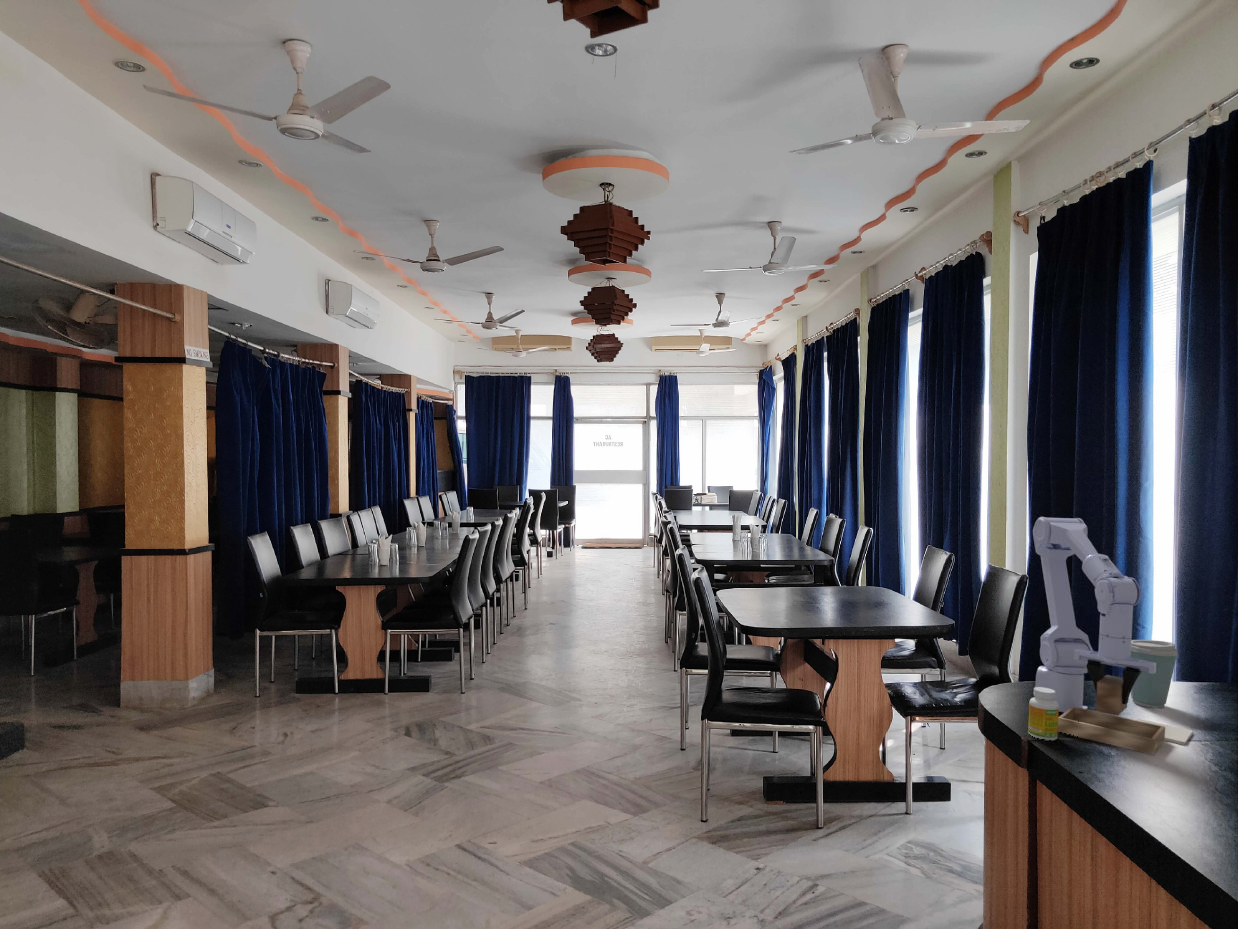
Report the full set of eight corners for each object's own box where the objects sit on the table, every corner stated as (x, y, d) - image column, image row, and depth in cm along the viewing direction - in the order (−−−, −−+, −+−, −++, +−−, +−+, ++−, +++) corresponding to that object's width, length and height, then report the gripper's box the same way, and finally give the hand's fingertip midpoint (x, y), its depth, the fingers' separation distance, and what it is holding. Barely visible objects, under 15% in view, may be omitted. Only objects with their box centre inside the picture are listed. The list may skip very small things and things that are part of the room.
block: (1095, 710, 167) (1097, 682, 167) (1105, 702, 173) (1106, 674, 173) (1118, 715, 164) (1119, 686, 164) (1127, 707, 170) (1128, 679, 170)
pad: (1127, 732, 172) (1128, 729, 172) (1137, 721, 179) (1138, 718, 179) (1184, 745, 165) (1185, 742, 165) (1192, 733, 172) (1192, 730, 172)
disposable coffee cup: (1120, 704, 191) (1123, 641, 190) (1123, 694, 200) (1126, 633, 199) (1175, 714, 185) (1178, 649, 184) (1175, 703, 193) (1178, 640, 193)
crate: (1057, 731, 170) (1058, 717, 170) (1071, 719, 179) (1072, 706, 179) (1153, 755, 159) (1154, 739, 159) (1164, 741, 167) (1165, 726, 167)
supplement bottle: (1046, 742, 164) (1048, 695, 164) (1022, 733, 169) (1024, 687, 168) (1063, 739, 166) (1065, 692, 166) (1038, 730, 171) (1041, 684, 171)
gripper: (1071, 631, 170) (1068, 696, 171) (1152, 645, 160) (1149, 713, 161) (1080, 627, 175) (1077, 689, 176) (1159, 639, 165) (1156, 705, 166)
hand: (1112, 700), depth 168 cm, fingers closed on block, 4 cm apart
